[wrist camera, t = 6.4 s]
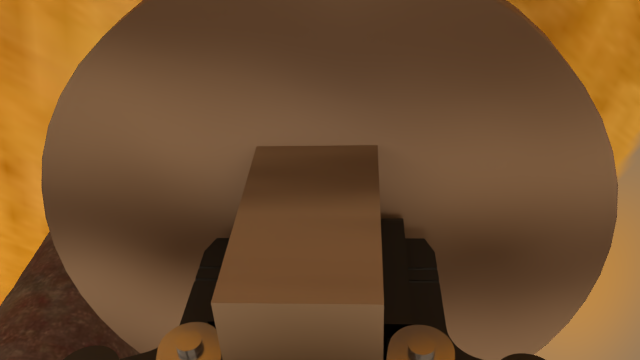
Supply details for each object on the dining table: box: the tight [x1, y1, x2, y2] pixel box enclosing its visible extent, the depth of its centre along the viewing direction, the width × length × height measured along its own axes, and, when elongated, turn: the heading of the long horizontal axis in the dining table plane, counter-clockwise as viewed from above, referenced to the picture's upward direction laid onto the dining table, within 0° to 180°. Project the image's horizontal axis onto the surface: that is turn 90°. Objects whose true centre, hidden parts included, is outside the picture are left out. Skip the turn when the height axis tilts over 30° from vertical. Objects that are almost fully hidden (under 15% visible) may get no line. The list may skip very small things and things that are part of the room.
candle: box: [0, 232, 141, 360], centre depth 28 cm, size 8×7×20 cm
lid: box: [42, 0, 618, 360], centre depth 14 cm, size 14×14×6 cm
